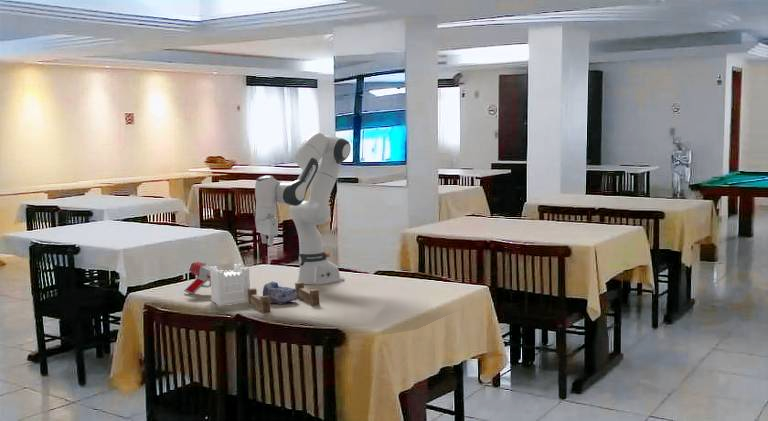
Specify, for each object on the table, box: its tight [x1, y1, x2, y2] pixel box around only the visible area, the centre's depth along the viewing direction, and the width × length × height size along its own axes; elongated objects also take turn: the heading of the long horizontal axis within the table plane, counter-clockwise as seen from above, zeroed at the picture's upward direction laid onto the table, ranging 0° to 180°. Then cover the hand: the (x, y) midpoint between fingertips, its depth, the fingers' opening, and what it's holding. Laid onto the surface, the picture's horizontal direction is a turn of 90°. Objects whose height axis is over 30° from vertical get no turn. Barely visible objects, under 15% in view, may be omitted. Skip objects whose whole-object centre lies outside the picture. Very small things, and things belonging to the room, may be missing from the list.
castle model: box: [210, 263, 251, 307], centre depth 338 cm, size 14×14×15 cm
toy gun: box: [183, 261, 211, 295], centre depth 354 cm, size 7×28×15 cm, turn 77°
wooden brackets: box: [247, 282, 321, 314], centre depth 329 cm, size 25×20×6 cm
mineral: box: [262, 281, 298, 305], centre depth 333 cm, size 14×10×10 cm
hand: (267, 244), depth 342 cm, fingers open, 7 cm apart
